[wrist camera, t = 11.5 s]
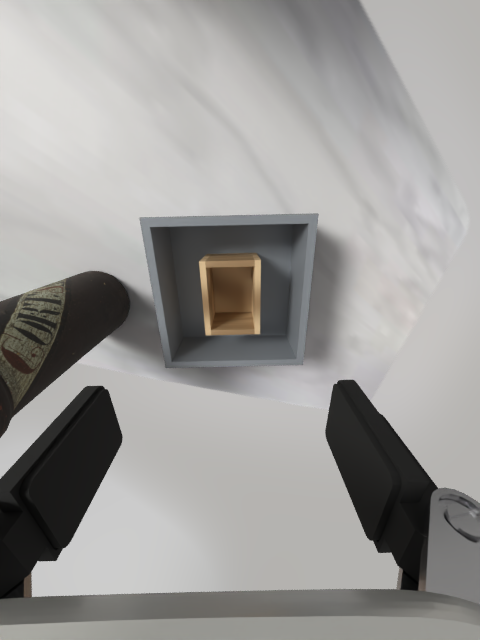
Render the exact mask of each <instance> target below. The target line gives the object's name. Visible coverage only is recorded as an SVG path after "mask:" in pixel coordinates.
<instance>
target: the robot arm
mask: <svg viewBox="0 0 480 640" xmlns="http://www.w3.org/2000/svg"><path fill="white" fill-rule="evenodd" d="M326 439H327V442H328V444H329V446H330V449H331V451H332V454H333V456H334V459H335V461H336V463H337V466H338V468H339V471H340V473H341V476H342V478H343V480H344V483H345V485H346V488H347V490H348V493H349V495H350V497H351V500H352V502H353V505H354V507H355V510H356V512H357V515H358V517H359V519H360V522H361V524H362V527H363V529H364V532H365V534H366V536H367V538H368V539H369V540H373V541H374V544H375V546H376V548H377V551H378V553H387V552H388V553H389V552H392V555H393V556H394V559H395V561H396V563H397V565H398V566H399V574H398V581H397V589H391V590H390V589H380V590H379V589H325V590H324V589H323V590H273V591H225V592H185V593H149V594H148V593H146V594H112V595H80V596H48V597H32V589H31V588H32V586H31V585H32V583H31V582H32V581H31V571H32V570H33V568H34V566H35V564H36V563H37V561H56V560H57V558H58V556H59V555H60V553H61V551H62V549H63V548H65V547H66V546H67V545H68V544H69V543H70V541H71V540H72V538H73V536H74V534H75V532H76V530H77V528H78V526H79V524H80V522H81V520H82V518H83V517H84V515H85V513H86V511H87V509H88V507H89V505H90V503H91V501H92V499H93V497H94V496H95V493H96V492H97V489H98V488H99V486H100V484H101V482H102V480H103V478H104V476H105V474H106V472H107V470H108V469H109V467H110V465H111V463H112V461H113V459H114V457H115V455H116V453H117V451H118V449H119V448H120V446H121V443H122V433H121V430H120V427H119V423H118V420H117V417H116V414H115V411H114V407H113V404H112V401H111V398H110V394H109V392H108V390H107V389H105V388H104V387H103V386H87V387H85V388H84V389H83V390H82V391H81V392H80V393H79V394H78V395H77V396H76V397H75V399H74V400H73V401H72V402H71V403H70V404H69V405H68V406H67V407H66V408H65V410H64V411H63V412H62V413H61V414H60V415H59V416H58V417H57V418H56V419H55V420H54V421H53V422H52V424H51V425H50V426H49V427H48V428H47V429H46V430H45V431H44V432H43V433H42V434H41V435H40V437H39V438H38V439H37V440H36V441H35V442H34V443H33V444H32V445H31V446H30V447H29V449H28V450H27V451H26V452H25V453H24V454H23V455H22V456H21V457H20V458H19V459H18V461H16V463H15V464H14V465H13V466H12V467H11V468H10V469H9V470H8V471H7V472H6V474H5V475H4V476H3V477H2V478H1V479H0V640H480V503H478V502H477V501H476V500H474V499H473V498H471V497H469V496H468V495H466V494H464V493H462V492H459V491H457V490H454V489H449V488H439V489H438V488H437V486H436V485H435V484H434V482H433V481H432V480H431V478H430V477H429V476H428V474H427V473H426V472H425V471H424V469H423V468H422V467H421V465H420V464H419V463H418V461H417V460H416V459H415V457H414V456H413V455H412V453H411V452H410V450H409V449H408V448H407V446H406V445H405V444H404V443H403V441H402V440H401V439H400V437H399V436H398V434H397V433H396V432H395V431H394V429H393V428H392V427H391V425H390V424H389V423H388V421H387V420H386V419H385V417H383V415H381V414H380V413H379V412H378V411H377V410H376V408H375V407H374V406H373V404H372V403H371V402H370V400H369V399H368V398H367V396H366V395H365V394H364V392H363V391H362V390H361V388H360V387H359V385H358V384H357V383H356V382H355V381H354V380H339V381H338V382H337V384H334V386H333V391H332V396H331V402H330V408H329V414H328V420H327V425H326Z"/></svg>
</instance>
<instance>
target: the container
mask: <svg viewBox="0 0 480 640" xmlns="http://www.w3.org/2000/svg"><path fill="white" fill-rule="evenodd" d="M128 312H129V298H128V295H127V293H126V291H125V289H124V287H123V286H122V285H121V284H120V282H119V281H118V280H117V279H115V278H114V277H113V276H111V275H109V274H107V273H104V272H99V271H88V272H84V273H81V274H78V275H75V276H72V277H69V278H66V279H64V280H61V281H58V282H55V283H52V284H49V285H46V286H44V287H41V288H38V289H35V290H32V291H29V292H26V293H24V294H21V295H18V296H15V297H12V298H9V299H6V300H4V301H1V302H0V438H1V436H2V435H3V434H4V433H5V431H6V430H7V428H8V425H9V423H10V420H11V418H12V417H13V416H14V415H15V414H16V413H18V412H19V411H20V410H21V409H22V408H23V407H24V406H26V405H27V404H28V403H29V402H30V401H32V400H33V399H34V398H35V397H36V396H37V395H38V394H40V393H41V392H42V391H43V390H44V389H45V388H46V387H48V386H49V385H50V384H51V383H52V382H54V381H55V380H56V379H57V378H58V377H59V376H61V375H62V374H63V373H64V372H65V371H66V370H68V369H69V368H70V367H71V366H72V365H73V364H75V363H76V362H77V361H78V360H79V359H81V358H82V357H83V356H84V355H85V354H86V353H88V352H89V351H90V350H91V349H93V348H94V347H95V346H96V345H97V344H99V343H100V342H101V341H102V340H103V339H105V338H106V337H107V336H108V335H110V334H111V333H112V332H113V331H114V330H116V329H117V328H118V327H119V326H120V325H121V324H122V323H123V322H124V321H125V319H126V318H127V315H128Z"/></svg>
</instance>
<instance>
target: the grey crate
mask: <svg viewBox="0 0 480 640" xmlns="http://www.w3.org/2000/svg"><path fill="white" fill-rule="evenodd" d="M140 224H141V230H142V235H143V241H144V247H145V252H146V258H147V264H148V270H149V275H150V281H151V287H152V292H153V298H154V304H155V309H156V315H157V321H158V327H159V332H160V338H161V344H162V349H163V355H164V361H165V366H166V368H187V367H231V366H275V365H303V360H304V351H305V341H306V331H307V321H308V311H309V302H310V292H311V282H312V272H313V263H314V253H315V243H316V233H317V224H318V214H276V215H232V216H187V217H143V218H140ZM225 253H257V255H258V256H259V258H260V259H261V294H260V334H243V335H206V333H205V322H204V311H203V300H202V289H201V278H200V267H199V261H200V260H201V259H202V258H203V257H204V256H205V255H206V254H225Z"/></svg>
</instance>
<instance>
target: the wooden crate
mask: <svg viewBox="0 0 480 640" xmlns="http://www.w3.org/2000/svg"><path fill="white" fill-rule="evenodd" d="M199 267H200V278H201V289H202V300H203V311H204V322H205V333H206V335H243V334H260V294H261V259H260V258H259V256H258V255H257V253H225V254H206V255H205V256H204V257H203V258H202V259H201V260H200V261H199Z"/></svg>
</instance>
